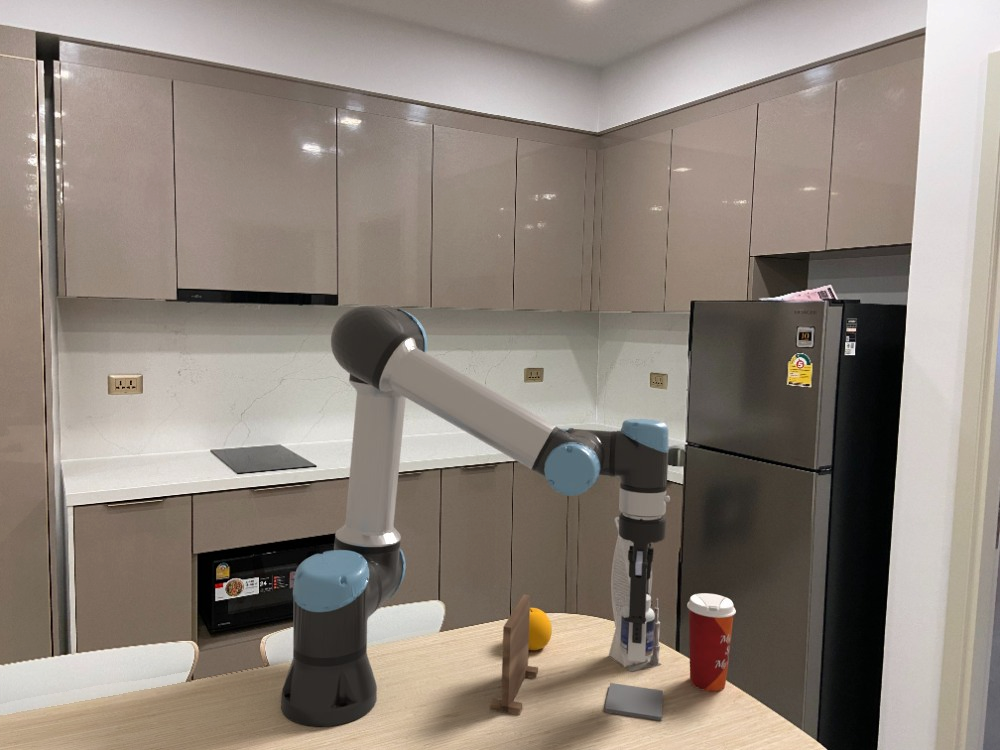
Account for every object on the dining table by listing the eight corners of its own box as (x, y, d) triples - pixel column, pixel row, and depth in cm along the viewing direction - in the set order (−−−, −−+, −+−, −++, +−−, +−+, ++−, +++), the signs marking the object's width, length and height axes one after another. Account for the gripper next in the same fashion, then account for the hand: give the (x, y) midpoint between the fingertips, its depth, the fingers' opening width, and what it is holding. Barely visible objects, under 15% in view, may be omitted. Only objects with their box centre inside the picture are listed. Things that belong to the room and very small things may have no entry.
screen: (489, 709, 118) (491, 625, 117) (511, 668, 133) (513, 593, 132) (519, 714, 117) (522, 629, 116) (538, 672, 131) (540, 596, 131)
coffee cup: (734, 697, 125) (738, 611, 124) (684, 691, 126) (688, 606, 125) (729, 675, 133) (733, 594, 132) (682, 669, 134) (686, 589, 134)
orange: (547, 657, 138) (548, 619, 137) (506, 652, 140) (507, 614, 139) (554, 640, 145) (555, 603, 145) (515, 635, 147) (516, 599, 147)
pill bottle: (628, 662, 118) (631, 603, 117) (614, 648, 123) (616, 591, 123) (658, 659, 120) (661, 601, 119) (643, 645, 125) (646, 589, 124)
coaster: (604, 711, 119) (604, 708, 119) (610, 686, 127) (610, 682, 127) (661, 720, 116) (661, 717, 116) (663, 693, 125) (663, 690, 125)
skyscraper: (624, 675, 132) (631, 522, 131) (598, 656, 139) (604, 512, 138) (661, 666, 136) (667, 518, 135) (634, 649, 143) (640, 508, 142)
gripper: (664, 530, 110) (658, 680, 111) (667, 503, 128) (662, 633, 129) (614, 526, 112) (609, 674, 113) (624, 500, 130) (619, 627, 131)
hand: (637, 651), depth 121 cm, fingers closed on pill bottle, 5 cm apart
